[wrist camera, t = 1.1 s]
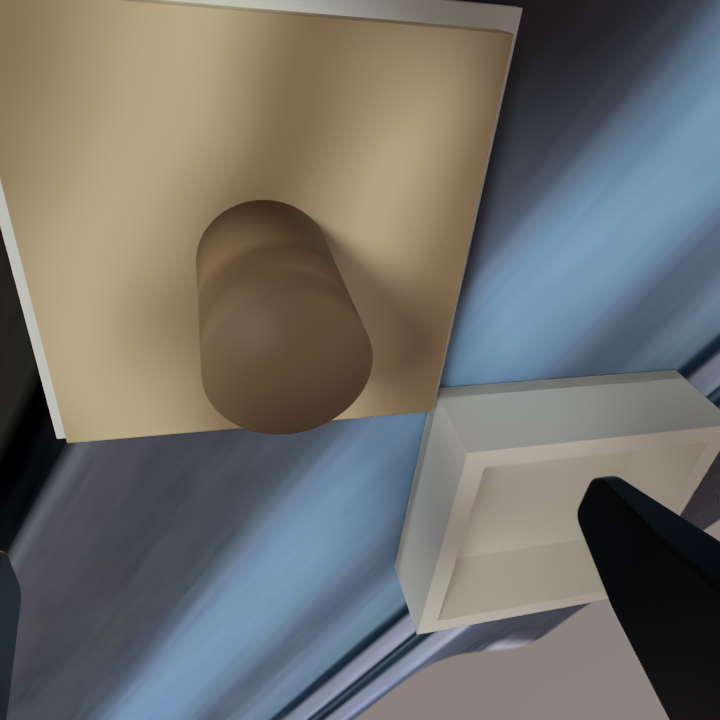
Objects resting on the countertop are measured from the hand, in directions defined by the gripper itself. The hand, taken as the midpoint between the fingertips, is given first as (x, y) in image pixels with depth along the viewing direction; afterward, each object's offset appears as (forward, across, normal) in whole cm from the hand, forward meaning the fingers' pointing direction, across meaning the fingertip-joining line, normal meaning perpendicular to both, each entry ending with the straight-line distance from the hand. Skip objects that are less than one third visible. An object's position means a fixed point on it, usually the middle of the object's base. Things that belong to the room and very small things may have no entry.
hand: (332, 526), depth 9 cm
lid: (+10, 0, 0) cm, 10 cm away
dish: (+10, -12, +12) cm, 20 cm away
